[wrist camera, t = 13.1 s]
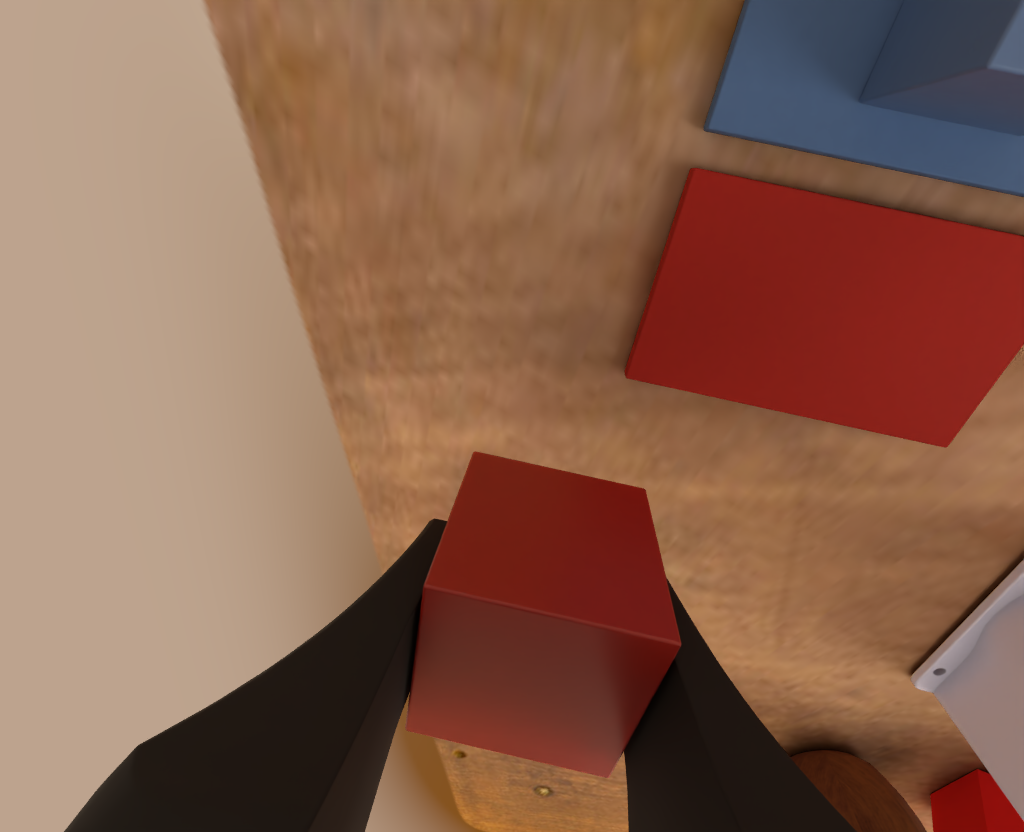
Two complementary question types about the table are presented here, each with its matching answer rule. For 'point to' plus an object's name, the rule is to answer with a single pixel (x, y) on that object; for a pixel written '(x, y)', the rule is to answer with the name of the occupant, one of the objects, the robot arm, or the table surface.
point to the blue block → (954, 63)
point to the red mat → (830, 308)
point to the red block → (542, 617)
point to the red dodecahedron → (974, 806)
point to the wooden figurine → (858, 792)
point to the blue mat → (844, 96)
